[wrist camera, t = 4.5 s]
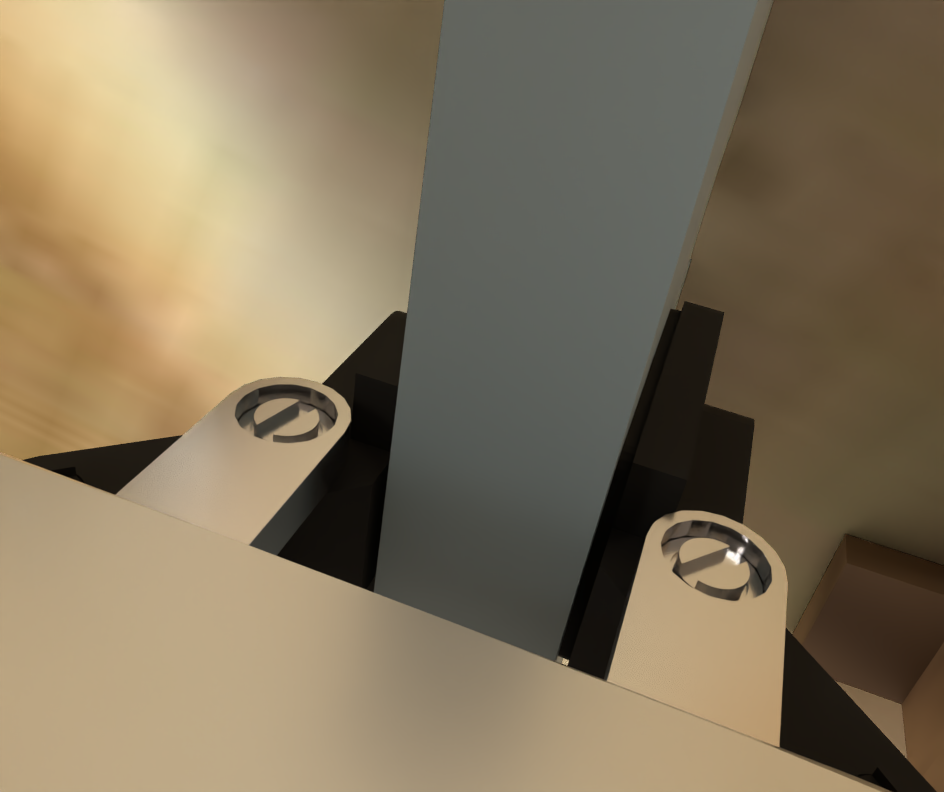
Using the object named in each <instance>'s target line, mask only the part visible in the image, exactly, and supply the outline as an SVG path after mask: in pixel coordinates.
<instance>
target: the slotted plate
mask: <svg viewBox="0 0 944 792" xmlns="http://www.w3.org/2000/svg"><path fill="white" fill-rule="evenodd" d="M773 1H774V0H445V1H444V9H443V18H442V26H441V34H440V43H439V51H438V59H437V68H436V76H435V85H434V93H433V101H432V110H431V118H430V126H429V135H428V143H427V151H426V160H425V168H424V176H423V185H422V193H421V202H420V210H419V218H418V227H417V235H416V243H415V252H414V260H413V268H412V277H411V285H410V293H409V302H408V310H407V319H406V327H405V335H404V344H403V352H402V360H401V369H400V377H399V385H398V394H397V402H396V410H395V419H394V427H393V436H392V444H391V452H390V461H389V469H388V477H387V486H386V494H385V502H384V511H383V519H382V527H381V536H380V544H379V552H378V561H377V569H376V578H375V586H374V593H376V594H379V595H381V596H384V597H387V598H389V599H392V600H395V601H397V602H400V603H402V604H405V605H408V606H410V607H413V608H416V609H418V610H421V611H424V612H426V613H429V614H432V615H434V616H437V617H439V618H442V619H445V620H447V621H450V622H453V623H455V624H458V625H461V626H463V627H466V628H469V629H471V630H474V631H476V632H479V633H482V634H484V635H487V636H490V637H492V638H495V639H498V640H500V641H503V642H506V643H508V644H511V645H513V646H516V647H519V648H521V649H524V650H527V651H529V652H532V653H535V654H537V655H540V656H543V657H545V658H548V659H550V660H553V661H556V662H558V663H562V660H563V658H562V657H560V656H558V653H559V650H560V647H561V643H562V640H563V637H564V634H565V630H566V627H567V624H568V621H569V617H570V614H571V611H572V608H573V605H574V601H575V598H576V595H577V592H578V588H579V585H580V582H581V579H582V575H583V572H584V569H585V566H586V562H587V559H588V556H589V553H590V549H591V546H592V543H593V540H594V537H595V533H596V530H597V527H598V524H599V520H600V517H601V514H602V511H603V507H604V504H605V501H606V498H607V494H608V491H609V488H610V485H611V481H612V478H613V475H614V472H615V469H616V466H617V463H618V460H619V457H620V454H621V450H622V448H623V445H624V442H625V439H626V436H627V433H628V430H629V427H630V424H631V421H632V419H633V416H634V413H635V410H636V407H637V404H638V401H639V398H640V395H641V393H642V390H643V387H644V384H645V381H646V378H647V375H648V372H649V370H650V367H651V364H652V361H653V358H654V355H655V352H656V349H657V346H658V344H659V341H660V338H661V335H662V332H663V329H664V326H665V323H666V320H667V318H668V315H669V312H670V309H675V310H676V307H677V304H678V301H679V297H680V294H681V291H682V288H683V285H684V282H685V278H686V275H687V272H688V269H689V266H690V263H691V260H692V259H690V257H691V254H692V251H693V248H694V245H695V242H696V238H697V235H698V232H699V229H700V226H701V223H702V219H703V216H704V213H705V210H706V207H707V204H708V200H709V197H710V194H711V191H712V188H713V185H714V181H715V178H716V175H717V172H718V169H719V166H720V164H721V161H722V158H723V155H724V152H725V149H726V146H727V143H728V141H729V138H730V135H731V132H732V129H733V126H734V123H735V120H736V118H737V114H738V111H739V108H740V105H741V102H742V99H743V95H744V92H745V89H746V86H747V83H748V80H749V77H750V73H751V70H752V67H753V64H754V61H755V58H756V54H757V51H758V48H759V45H760V42H761V39H762V35H763V32H764V29H765V26H766V23H767V20H768V17H769V13H770V10H771V7H772V4H773Z"/></svg>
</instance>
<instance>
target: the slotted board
mask: <svg viewBox="0 0 944 792" xmlns="http://www.w3.org/2000/svg"><path fill="white" fill-rule="evenodd" d="M792 635H793V636H794V637H795V638H796V639H797V640H798V641H799V643H800V644H801V645H802V646H803V647H804V648H805V649H806V650H807V651H808V652H809V653H810V654H811V656H812V657H813V658H814V659H815V660H816V661H817V662H818V663H819V664H820V665H821V666H822V668H823V669H824V670H825V671H826V672H827V673H828V674H829V675H830V676H831V677H832V678H833V679H834V680H836V681H839V682H841V683H844V684H847V685H850V686H853V687H855V688H858V689H861V690H864V691H866V692H869V693H872V694H875V695H878V696H880V697H883V698H886V699H889V700H892V701H894V702H897V703H900V704H902V711H903V721H904V731H905V741H906V751H907V760H908V761H909V762H910V763H911V764H912V765H913V766H914V767H915V769H916V770H917V771H918V772H919V773H920V774H921V775H922V776H923V777H924V778H925V779H926V781H927V782H928V783H929V784H930V785H931V786H932V787H933V788H934V789H935V790H936V791H937V792H944V566H943V565H939V564H936V563H933V562H930V561H927V560H924V559H921V558H918V557H915V556H912V555H909V554H906V553H903V552H899V551H896V550H893V549H890V548H887V547H884V546H881V545H878V544H875V543H872V542H869V541H866V540H863V539H859V538H856V537H853V536H850V535H847V534H845V536H844V538H843V540H842V541H841V543H840V545H839V547H838V549H837V551H836V553H835V555H834V557H833V559H832V560H831V562H830V564H829V566H828V568H827V570H826V572H825V574H824V576H823V577H822V579H821V581H820V583H819V585H818V587H817V589H816V591H815V593H814V594H813V596H812V598H811V600H810V602H809V604H808V606H807V608H806V610H805V611H804V613H803V615H802V617H801V619H800V621H799V623H798V625H797V627H796V629H795V630H794V632H793V634H792Z"/></svg>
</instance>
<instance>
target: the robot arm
mask: <svg viewBox="0 0 944 792" xmlns="http://www.w3.org/2000/svg"><path fill="white" fill-rule="evenodd" d="M723 316H724V312H721V311H717V310H714V309H710V308H707V307H703V306H700V305H696V304H693V303H689V302H684V305H683V308H682V311H678V310H675V309H670V312H669V315H668V318H667V320H666V323H665V326H664V329H663V332H662V335H661V338H660V341H659V344H658V346H657V349H656V352H655V355H654V358H653V361H652V364H651V367H650V370H649V372H648V375H647V378H646V381H645V384H644V387H643V390H642V393H641V395H640V398H639V401H638V404H637V407H636V410H635V413H634V416H633V419H632V421H631V424H630V427H629V430H628V433H627V436H626V439H625V442H624V445H623V448H622V450H621V454H620V457H619V460H618V463H617V466H616V469H615V472H614V475H613V478H612V481H611V485H610V488H609V491H608V494H607V498H606V501H605V504H604V507H603V511H602V514H601V517H600V520H599V524H598V527H597V530H596V533H595V537H594V540H593V543H592V546H591V549H590V553H589V556H588V559H587V562H586V566H585V569H584V572H583V575H582V579H581V582H580V585H579V588H578V592H577V595H576V598H575V601H574V605H573V608H572V611H571V614H570V617H569V621H568V624H567V627H566V630H565V634H564V637H563V640H562V643H561V647H560V650H559V653H558V656H560V657H562V658H565V659H568V660H569V663H568V666H566V665H564V664H561V663H558V662H556V661H553V660H550V659H548V658H545V657H543V656H540V655H537V654H535V653H532V652H529V651H527V650H524V649H521V648H519V647H516V646H513V645H511V644H508V643H506V642H503V641H500V640H498V639H495V638H492V637H490V636H487V635H484V634H482V633H479V632H476V631H474V630H471V629H469V628H466V627H463V626H461V625H458V624H455V623H453V622H450V621H447V620H445V619H442V618H439V617H437V616H434V615H432V614H429V613H426V612H424V611H421V610H418V609H416V608H413V607H410V606H408V605H405V604H402V603H400V602H397V601H395V600H392V599H389V598H387V597H384V596H381V595H379V594H376V593H374V586H375V578H376V569H377V561H378V552H379V544H380V536H381V527H382V519H383V511H384V502H385V494H386V486H387V477H388V469H389V461H390V452H391V444H392V436H393V427H394V419H395V410H396V402H397V394H398V385H399V377H400V369H401V360H402V352H403V344H404V335H405V327H406V319H407V313H404V312H401V311H395V312H394V313H392V314H391V315H390V316H389V317H388V318H387V319H386V320H385V321H384V322H383V323H382V324H381V325H380V326H379V327H378V328H377V329H376V330H375V331H374V332H373V333H372V334H371V335H370V336H369V337H368V338H367V339H366V340H365V341H364V342H363V343H362V344H361V345H360V346H359V347H358V348H357V349H356V350H355V351H354V352H353V353H352V354H351V355H350V356H349V357H348V358H347V359H346V360H345V361H344V362H343V363H342V364H341V365H340V366H339V367H338V368H337V369H336V370H335V371H334V372H333V373H332V374H331V375H330V376H329V377H328V379H327V380H326V381H325V382H324V383H323V384H321V383H318V382H315V381H311V380H306V379H302V378H291V377H275V378H267V379H260V380H257V381H254V382H251V383H248V384H245V385H243V386H241V387H240V388H238V389H237V390H235V391H233V392H232V393H230V394H229V395H228V396H227V397H226V398H225V399H224V400H222V401H221V402H220V403H219V404H218V405H217V406H216V407H214V408H213V409H212V410H211V411H210V412H209V413H208V414H207V415H205V416H204V417H203V418H202V419H201V420H200V421H199V422H197V423H196V424H195V425H194V426H193V427H192V428H191V429H189V430H188V431H187V432H186V433H185V434H184V435H181V436H174V437H167V438H160V439H153V440H147V441H140V442H133V443H126V444H119V445H112V446H106V447H99V448H92V449H85V450H78V451H71V452H65V453H58V454H51V455H44V456H38V457H34V458H29V459H25V460H20V459H17V458H15V457H12V456H9V455H7V454H4V453H1V452H0V792H937V791H936V790H935V789H934V788H933V787H932V786H931V785H930V784H929V783H928V782H927V781H926V779H925V778H924V777H923V776H922V775H921V774H920V773H919V772H918V771H917V770H916V769H915V767H914V766H913V765H912V764H911V763H910V762H909V761H908V760H907V759H906V758H905V757H904V756H903V754H902V753H901V752H900V751H899V750H898V749H897V748H896V747H895V746H894V745H893V744H892V742H891V741H890V740H889V739H888V738H887V737H886V736H885V735H884V734H883V733H882V732H881V731H880V729H879V728H878V727H877V726H876V725H875V724H874V723H873V722H872V721H871V720H870V719H869V717H868V716H867V715H866V714H865V713H864V712H863V711H862V710H861V709H860V708H859V707H858V706H857V704H856V703H855V702H854V701H853V700H852V699H851V698H850V697H849V696H848V695H847V694H846V693H845V691H844V690H843V689H842V688H841V687H840V686H839V685H838V684H837V683H836V682H835V681H834V679H833V678H832V677H831V676H830V675H829V674H828V673H827V672H826V671H825V670H824V669H823V668H822V666H821V665H820V664H819V663H818V662H817V661H816V660H815V659H814V658H813V657H812V656H811V654H810V653H809V652H808V651H807V650H806V649H805V648H804V647H803V646H802V645H801V644H800V643H799V641H798V640H797V639H796V638H795V637H794V636H793V635H792V634H791V633H790V632H789V631H788V629H787V628H786V610H787V591H788V581H787V575H786V569H785V566H784V565H783V563H782V561H781V559H780V558H779V556H778V554H777V552H776V551H775V550H774V549H773V548H772V547H771V546H770V545H769V544H768V543H767V542H766V541H765V540H764V539H763V538H762V537H761V536H759V535H758V534H756V533H755V532H754V531H752V530H751V529H749V528H748V527H746V526H745V525H743V516H744V507H745V499H746V491H747V482H748V474H749V466H750V457H751V449H752V440H753V432H754V419H752V418H748V417H745V416H742V415H738V414H735V413H732V412H729V411H725V410H722V409H719V408H716V407H712V406H709V405H706V404H704V402H705V398H706V393H707V389H708V384H709V380H710V375H711V371H712V366H713V362H714V357H715V353H716V348H717V344H718V339H719V335H720V330H721V325H722V321H723Z"/></svg>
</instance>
